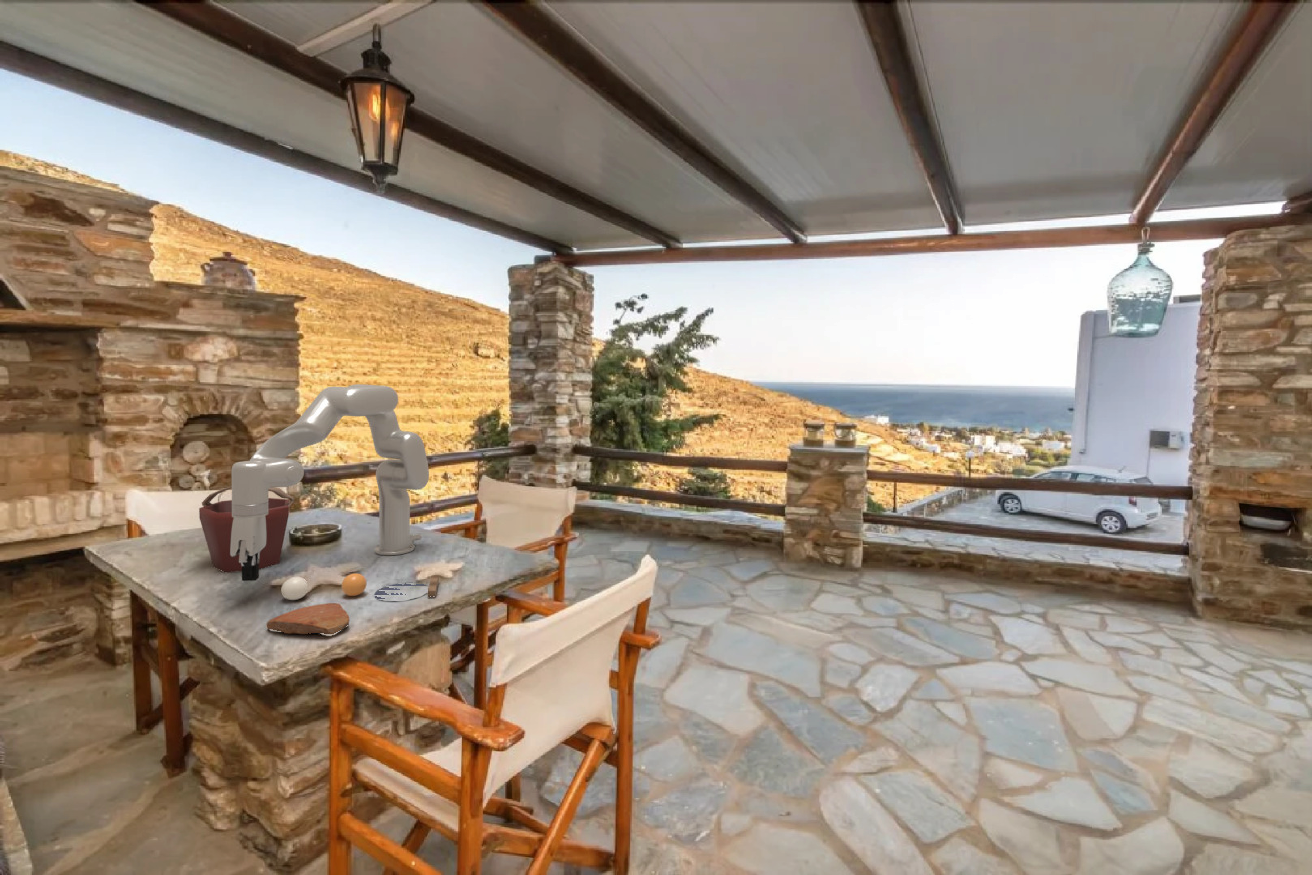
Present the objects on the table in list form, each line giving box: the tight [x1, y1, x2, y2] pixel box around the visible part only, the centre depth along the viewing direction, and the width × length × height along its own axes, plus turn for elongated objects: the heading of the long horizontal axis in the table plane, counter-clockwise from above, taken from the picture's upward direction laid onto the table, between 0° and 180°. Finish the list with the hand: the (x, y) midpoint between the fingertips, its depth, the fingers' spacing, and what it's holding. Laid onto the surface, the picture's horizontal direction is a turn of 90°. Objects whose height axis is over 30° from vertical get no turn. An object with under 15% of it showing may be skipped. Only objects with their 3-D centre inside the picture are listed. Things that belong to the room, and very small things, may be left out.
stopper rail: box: [427, 575, 440, 598], centre depth 154 cm, size 12×2×2 cm, turn 18°
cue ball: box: [280, 576, 309, 601], centre depth 144 cm, size 6×6×6 cm
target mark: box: [373, 582, 428, 600], centre depth 152 cm, size 14×14×1 cm
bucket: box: [198, 485, 295, 573], centre depth 168 cm, size 24×22×25 cm
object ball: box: [341, 573, 368, 597], centre depth 148 cm, size 6×6×6 cm
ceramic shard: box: [266, 602, 350, 635], centre depth 127 cm, size 15×6×15 cm
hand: (250, 579), depth 140 cm, fingers closed
